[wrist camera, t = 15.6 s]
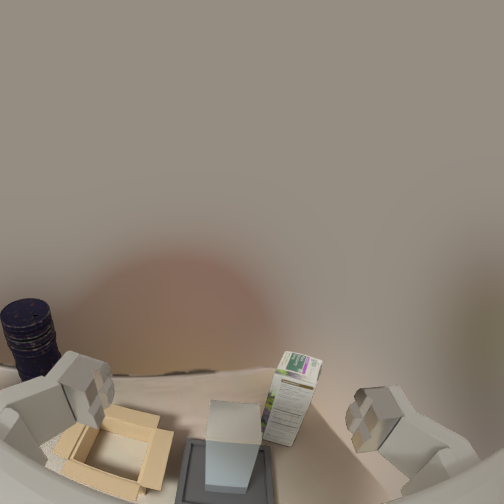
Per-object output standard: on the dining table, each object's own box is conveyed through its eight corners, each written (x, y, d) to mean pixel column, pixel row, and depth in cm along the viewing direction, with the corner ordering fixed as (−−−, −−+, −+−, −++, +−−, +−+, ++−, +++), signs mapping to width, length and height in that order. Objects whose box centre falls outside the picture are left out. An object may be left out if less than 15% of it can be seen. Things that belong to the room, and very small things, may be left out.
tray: (175, 508, 21) (174, 505, 20) (186, 442, 32) (186, 438, 32) (273, 516, 21) (275, 513, 21) (268, 449, 33) (269, 445, 33)
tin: (204, 490, 24) (205, 436, 20) (208, 461, 29) (210, 399, 25) (245, 494, 24) (261, 441, 21) (245, 465, 29) (259, 404, 26)
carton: (56, 477, 19) (45, 464, 18) (91, 410, 33) (85, 395, 32) (161, 514, 19) (157, 506, 18) (178, 433, 34) (177, 419, 33)
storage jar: (15, 387, 30) (-11, 316, 26) (41, 360, 40) (24, 293, 36) (53, 407, 30) (25, 334, 26) (77, 375, 40) (61, 305, 36)
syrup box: (267, 414, 40) (283, 348, 37) (300, 423, 39) (324, 358, 35) (256, 437, 35) (271, 371, 31) (292, 448, 33) (318, 383, 30)
